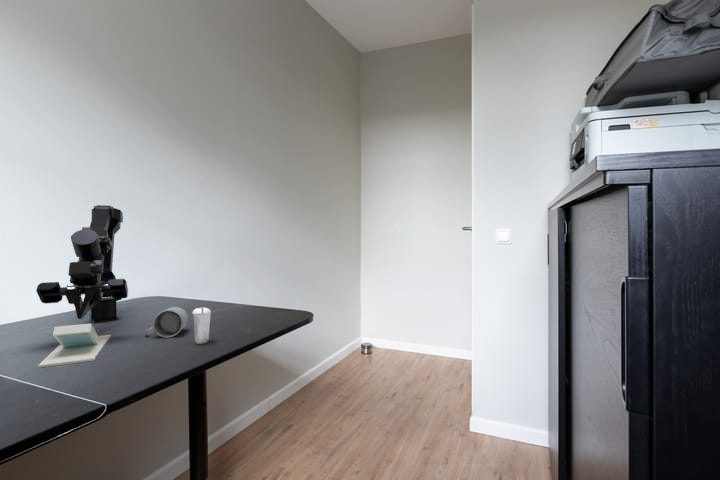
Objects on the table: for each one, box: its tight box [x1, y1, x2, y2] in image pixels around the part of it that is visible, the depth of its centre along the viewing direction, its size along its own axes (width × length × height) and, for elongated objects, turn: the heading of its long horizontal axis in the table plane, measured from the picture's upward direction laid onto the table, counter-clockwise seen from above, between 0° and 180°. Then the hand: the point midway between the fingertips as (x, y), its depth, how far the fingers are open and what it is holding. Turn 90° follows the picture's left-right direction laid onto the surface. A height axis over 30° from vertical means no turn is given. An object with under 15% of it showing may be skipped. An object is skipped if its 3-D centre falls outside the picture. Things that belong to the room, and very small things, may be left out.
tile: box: [52, 323, 99, 348], centre depth 89 cm, size 2×7×9 cm
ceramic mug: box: [144, 306, 189, 339], centre depth 104 cm, size 11×8×8 cm
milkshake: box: [191, 306, 212, 345], centre depth 96 cm, size 4×5×10 cm
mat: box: [37, 334, 112, 369], centre depth 90 cm, size 20×10×1 cm, turn 26°
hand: (79, 318), depth 91 cm, fingers closed
